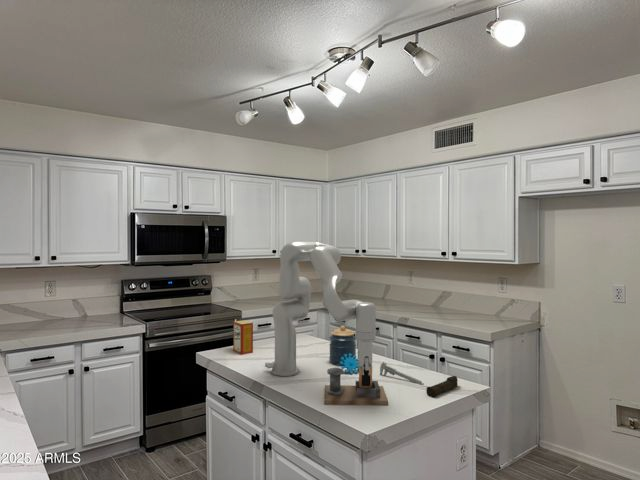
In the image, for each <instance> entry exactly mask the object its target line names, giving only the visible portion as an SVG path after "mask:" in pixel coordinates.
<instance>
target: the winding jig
mask: <svg viewBox="0 0 640 480" xmlns="http://www.w3.org/2000/svg"><path fill="white" fill-rule="evenodd" d="M326 370H327V371H326V372H327V374H328V375H329V384H328V385H326V384H325V385H324V400H323V402H324V405H337V406H338V405H346V406H347V405H348V406H349V405H350V406H351V405H352V406H389V400H388V396H387V393H386V391H385V388H384V385H379V382H378V380H372V388H360V387H359V380H355V385H341V375H343V374H344V369H342V368H340V367H331V368H327V369H326Z"/></svg>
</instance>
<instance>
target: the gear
mask: <svg viewBox="0 0 640 480" xmlns="http://www.w3.org/2000/svg"><path fill="white" fill-rule="evenodd" d="M351 355H352V354H351V353H349V358H347V354H344V357H345V359H346V360H344V357H341V360H343V361H344V363H343V362H342V361H340V364H343V365H340V366H341V368H340V369H343V370H344V372H345V374H346V373H348V372H349V371H350V372H349V375H353V374H359V366H358V355H357V354H356V355H354V356H353V357H352V358H351ZM354 358H356V359H354ZM353 370H354V372H353Z"/></svg>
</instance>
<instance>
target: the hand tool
mask: <svg viewBox="0 0 640 480" xmlns="http://www.w3.org/2000/svg"><path fill="white" fill-rule="evenodd" d="M457 387H458V377H457V376H456V375H452V376H448V377H447V378H446V380H445V381H442V382H440V383H437V384H434V385H431V386H427V387H426V395H427V396H428V397H430V398H435V397H437V396H438V395H440V394H441V393H444V392H446V391H449V390H454V389H456V388H457Z"/></svg>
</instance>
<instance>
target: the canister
mask: <svg viewBox="0 0 640 480" xmlns="http://www.w3.org/2000/svg"><path fill="white" fill-rule="evenodd" d="M328 338H329V340H330V341H329V344H328V345H329V358H328V360H329V362H330V364H332V365H336V366H344V365H343V364H340V361H342V362H343V363H344V361H343V360H341V357H344V354H347V358H349V353H351V354H352V355H351V358H352V357H353V356H354V355H356V356H357V353H356V352H357V347H356V346H357V344H356V335H355V332H354V331H353V330H351V329H349V328H346V325H341V326H340V327H339V328H336V329H334V330H333V331H331V335H330V336H329V337H328ZM354 359H357V357H356V358H354ZM344 360H346V359H345V357H344Z"/></svg>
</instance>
